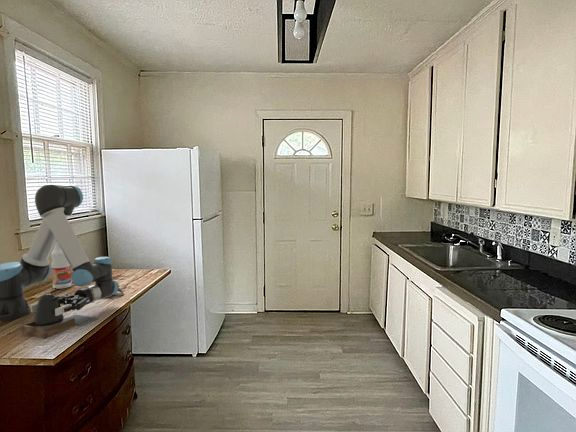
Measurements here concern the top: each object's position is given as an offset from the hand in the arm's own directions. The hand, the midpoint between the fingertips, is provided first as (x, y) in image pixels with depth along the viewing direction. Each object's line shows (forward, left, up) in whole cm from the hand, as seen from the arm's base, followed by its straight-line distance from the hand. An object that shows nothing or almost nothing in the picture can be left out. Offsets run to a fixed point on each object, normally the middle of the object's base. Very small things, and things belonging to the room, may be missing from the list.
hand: (43, 310), depth 151 cm
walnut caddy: (0, +2, -9) cm, 9 cm away
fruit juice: (-53, +51, -9) cm, 75 cm away
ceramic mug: (-13, +48, -9) cm, 51 cm away
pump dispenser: (0, +2, -9) cm, 10 cm away
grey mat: (+2, +14, -9) cm, 17 cm away
